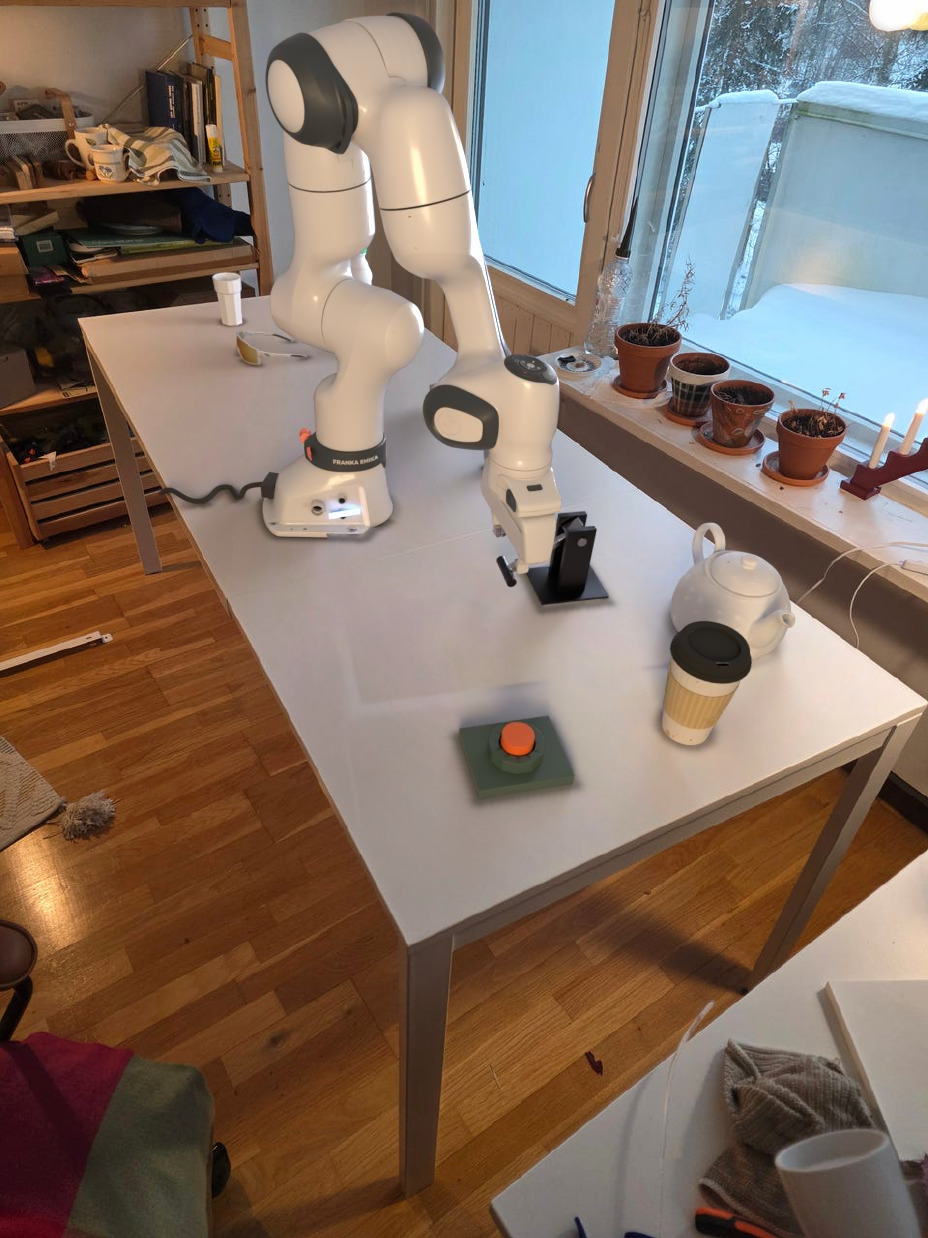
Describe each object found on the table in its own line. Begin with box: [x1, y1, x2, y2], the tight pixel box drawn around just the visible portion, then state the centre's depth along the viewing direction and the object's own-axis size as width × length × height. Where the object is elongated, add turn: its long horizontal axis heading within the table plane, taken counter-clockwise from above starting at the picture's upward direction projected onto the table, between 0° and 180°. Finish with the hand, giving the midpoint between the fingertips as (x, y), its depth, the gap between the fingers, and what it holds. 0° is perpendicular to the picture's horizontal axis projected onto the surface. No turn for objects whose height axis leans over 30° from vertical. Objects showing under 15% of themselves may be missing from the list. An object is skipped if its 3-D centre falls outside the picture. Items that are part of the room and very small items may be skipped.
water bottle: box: [351, 248, 373, 285], centre depth 186 cm, size 7×7×25 cm
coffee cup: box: [661, 621, 753, 746], centre depth 102 cm, size 10×10×15 cm
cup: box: [211, 271, 243, 327], centre depth 200 cm, size 7×7×11 cm
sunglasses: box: [235, 329, 308, 366], centre depth 189 cm, size 14×15×5 cm
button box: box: [458, 715, 575, 800], centre depth 99 cm, size 12×10×4 cm
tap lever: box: [495, 518, 584, 588], centre depth 121 cm, size 14×6×2 cm
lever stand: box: [525, 510, 610, 606], centre depth 124 cm, size 11×9×13 cm
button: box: [501, 722, 535, 756], centre depth 98 cm, size 4×4×2 cm
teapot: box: [669, 522, 796, 661], centre depth 119 cm, size 19×18×14 cm
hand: (509, 552), depth 122 cm, fingers open, 8 cm apart
